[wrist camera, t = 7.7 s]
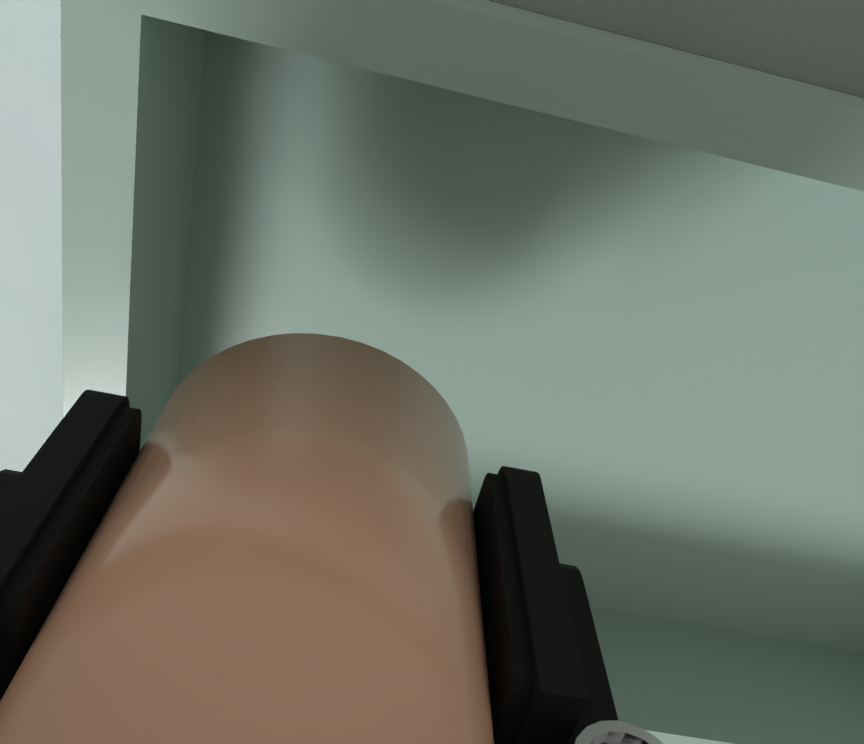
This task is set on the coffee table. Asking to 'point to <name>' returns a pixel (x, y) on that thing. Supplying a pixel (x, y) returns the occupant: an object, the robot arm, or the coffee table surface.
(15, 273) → the coffee table surface
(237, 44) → the tote
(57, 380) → the coffee table surface
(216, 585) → the terracotta cylinder
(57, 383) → the coffee table surface
